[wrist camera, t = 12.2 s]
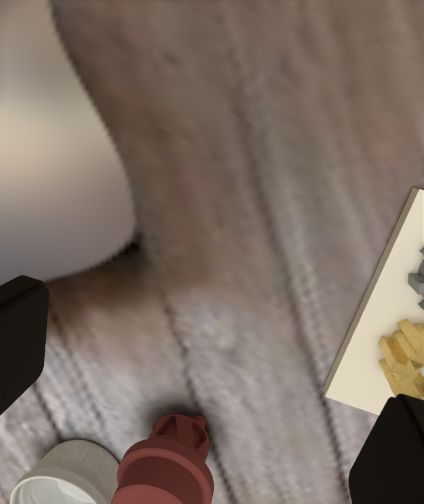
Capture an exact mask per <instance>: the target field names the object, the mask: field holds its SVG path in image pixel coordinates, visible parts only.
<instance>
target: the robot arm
mask: <svg viewBox="0 0 424 504" xmlns="http://www.w3.org/2000/svg"><path fill="white" fill-rule="evenodd" d="M48 302H49V290H48V289H47V288H45V284H44V282H43V281H40V280H37V279H34V278H30V277H28V276H24V275H21V276H18V277H16V278H14V279H12V280H11V281H9V282H7V283H5V284H3V285H1V286H0V415H1V414H2V413H3V412H4V411H5V410H6V409H7V408H8V407H10V406H11V405H12V404H13V403H14V402H15V401H16V400H17V399H18V398H19V397H20V396H21V395H22V394H23V393H24V392H25V391H26V390H27V389H28V388H29V387H30V386H31V385H32V384H33V383H34V382H35V381H36V380H37V379H38V378H39V376H40V375H41V373H42V371H43V368H44V358H45V344H46V330H47V316H48ZM349 490H350V495H351V500H352V504H424V400H422V399H418V398H415V397H412V396H409V395H406V394H402V393H401V394H398V395H397V396H396V397H390V398H389V399H388V400H387V402H386V404H385V405H384V407H383V409H382V411H381V413H380V415H379V417H378V419H377V421H376V423H375V424H374V426H373V428H372V430H371V432H370V434H369V436H368V438H367V440H366V442H365V443H364V445H363V447H362V449H361V451H360V453H359V455H358V457H357V459H356V461H355V463H354V464H353V466H352V468H351V470H350V474H349Z"/></svg>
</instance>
